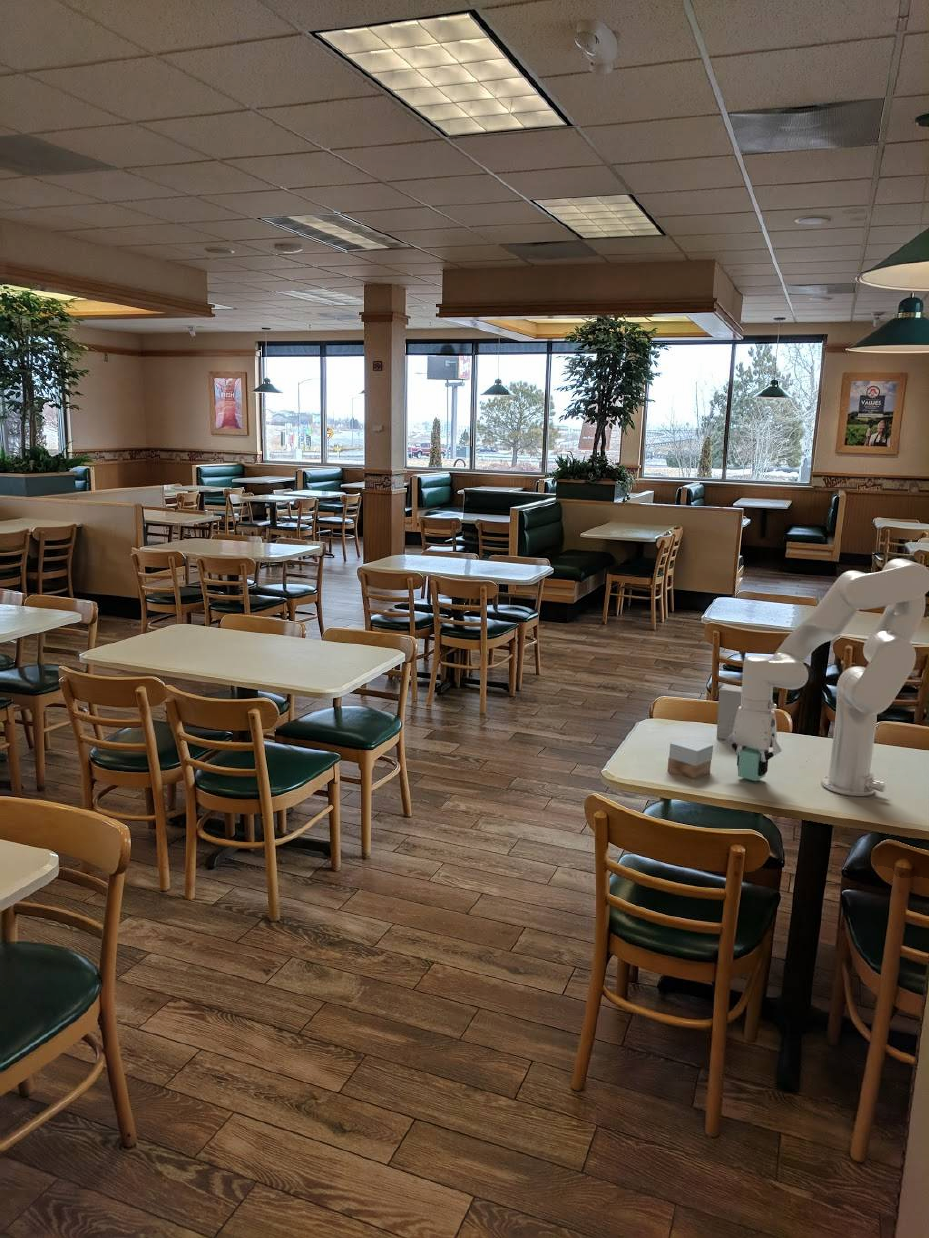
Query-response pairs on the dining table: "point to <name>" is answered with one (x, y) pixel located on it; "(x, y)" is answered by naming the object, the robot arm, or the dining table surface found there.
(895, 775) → the dining table surface
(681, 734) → the dining table surface
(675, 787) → the dining table surface
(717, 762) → the dining table surface
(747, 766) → the block
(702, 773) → the tower base
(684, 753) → the tower top
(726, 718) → the skincare box
